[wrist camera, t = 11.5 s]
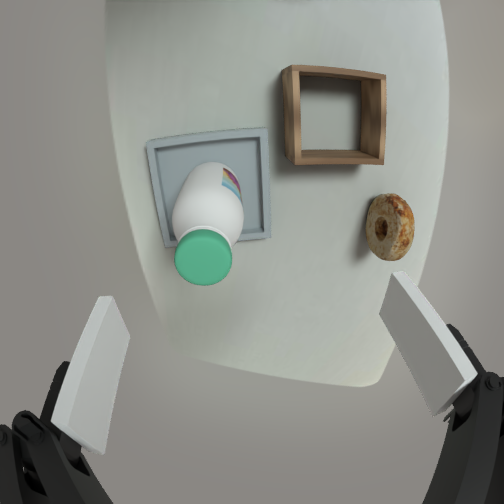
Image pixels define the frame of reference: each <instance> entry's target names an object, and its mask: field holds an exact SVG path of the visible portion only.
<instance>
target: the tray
mask: <svg viewBox="0 0 504 504" xmlns="http://www.w3.org/2000/svg"><path fill="white" fill-rule="evenodd" d="M146 147H147V154H148V161H149V167H150V173H151V179H152V185H153V190H154V196H155V201H156V206H157V211H158V216H159V221H160V226H161V231H162V235H163V240H164V244H165V248H168V247H177V244H178V240H177V239H176V237H175V234H174V231H173V226H172V214H173V209H174V206H175V203H176V200H177V198H178V195H179V193H180V191H181V188H182V186H183V184H184V182H185V180H186V178H187V176H188V175H189V173H190V172H191V171H192V170H193V169H194V168H195V167H196V166H198V165H200V164H202V163H206V162H219V163H222V164H224V165H226V166H228V167H229V168H230V169H232V170H233V172H234V173H235V174H236V176H237V178H238V181H239V185H240V190H241V196H242V203H243V211H244V222H243V228H242V231H241V234H240V236H239V238H238V240H237V241H241V240H252V239H263V238H271V208H270V178H269V152H268V129H267V128H265V127H259V128H243V129H230V130H219V131H209V132H200V133H192V134H185V135H178V136H171V137H164V138H158V139H153V140H149V141H147V142H146Z"/></svg>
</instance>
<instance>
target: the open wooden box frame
mask: <svg viewBox="0 0 504 504" xmlns="http://www.w3.org/2000/svg"><path fill="white" fill-rule="evenodd" d="M299 76H316V77H330V78H341V79H351V80H359V81H361V145H360V150H301V114H300V86H299ZM282 82H283V104H284V131H285V156H286V157H287V158H288V159H289V160H290V161H291V162H292V163H293V164H294V165H312V164H373V165H384V154H385V137H386V75H384V74H378V73H373V72H366V71H360V70H352V69H344V68H335V67H324V66H309V65H290V66H288V67H287V68H285V69H283V70H282Z"/></svg>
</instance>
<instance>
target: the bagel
mask: <svg viewBox="0 0 504 504" xmlns="http://www.w3.org/2000/svg"><path fill="white" fill-rule="evenodd" d="M413 237H414V217H413V213H412V211H411V208H410V207H409V205H408V204H407V203H406V201H405V200H403V199H402V198H401V197H399V196H398V195H396V194H381V195H379V196H378V197H376V198H375V199H374V200H373V202H372V204H371V205H370V208H369V211H368V215H367V222H366V238H367V242H368V245H369V248H370V249H371V251H372V252H373V253H374V254H375V255H376V256H377V257H379V258H380V259H382V260H386V261H395V260H399V259H401V258H402V257H403V256H404V255H405V254H406V253H407V252H408V250H409V249H410V247H411V245H412V242H413Z"/></svg>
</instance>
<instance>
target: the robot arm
mask: <svg viewBox="0 0 504 504" xmlns="http://www.w3.org/2000/svg"><path fill="white" fill-rule="evenodd" d="M379 315H380V317H381V318H382V320H383V322H384V324H385V325H386V327H387V329H388V331H389V332H390V334H391V336H392V338H393V340H394V341H395V343H396V345H397V347H398V349H399V351H400V352H401V354H402V356H403V358H404V360H405V362H406V364H407V366H408V367H409V369H410V371H411V373H412V375H413V377H414V379H415V381H416V383H417V385H418V387H419V389H420V391H421V393H422V395H423V398H424V400H425V402H426V404H427V406H428V408H429V410H430V412H431V415H432V416H435V415H437V414H440V413H441V412H444V411H446V410H447V408H448V407H449V406H450V405H451V404H453V406H454V409H453V410H452V411H451V412H450V413H449V414H448V415H447V416H446V417H445V418H444V420H443V421H444V422H445V421H446V420H447V419H448V418H449V417H450V420H449V421H448V423H449V425H448V429H447V433H446V438H445V441H444V445H443V448H442V451H441V455H440V458H439V461H438V464H437V467H436V470H435V473H434V476H433V479H432V481H431V484H430V486H429V489H428V492H427V494H426V497H425V499H424V501H423V503H422V504H504V377H499V376H498V375H497V374H495V373H493V372H486V371H485V370H484V368H483V367H482V365H481V363H480V362H479V360H478V359H477V357H476V356H475V354H474V353H473V351H472V350H471V348H470V347H468V344H467V342H466V341H464V338H463V336H462V335H461V334H460V332H459V331H458V330H457V329H456V328H455V327H453V326H452V325H451V324H447V325H445V323H444V322H443V321H442V319H441V318H440V317H439V315H438V314H437V312H436V311H435V310H434V308H433V307H432V306H431V304H430V303H429V302H428V300H427V299H426V298H425V296H424V295H423V294H422V293H421V291H420V290H419V289H418V287H417V286H416V285H415V284H414V282H413V281H412V280H411V279H410V277H409V276H408V275H407V274H406V273H405V271H400V272H393V273H392V274H391V278H390V281H389V285H388V288H387V291H386V295H385V298H384V301H383V304H382V307H381V310H380V313H379ZM130 337H131V336H130V334H129V332H128V330H127V328H126V326H125V324H124V321H123V319H122V316H121V314H120V312H119V309H118V307H117V305H116V302H115V300H114V298H113V296H99V298H98V300H97V302H96V304H95V306H94V308H93V310H92V313H91V315H90V317H89V319H88V321H87V324H86V326H85V328H84V330H83V333H82V335H81V337H80V340H79V342H78V345H77V347H76V350H75V352H74V354H73V357H72V360H71V362H67V361H64V362H63V363H62V364H61V365H60V367H59V368H58V369H57V370H56V374H55V376H54V379H53V382H52V384H51V386H50V390H49V392H48V395H47V398H46V401H45V404H44V407H43V410H42V413H41V416H40V419H38V418H37V417H36V416H35V415H34V414H33V413H31V412H30V411H26V410H24V411H21V412H19V413H18V414H17V415H16V416H15V417H14V419H13V422H12V430H11V429H10V428H9V427H7V426H6V425H2V424H1V425H0V504H113V502H112V501H111V500H110V498H109V497H108V495H107V494H106V492H105V491H104V489H103V488H102V486H101V484H100V483H99V481H98V480H97V478H96V477H95V475H94V473H93V471H92V470H91V468H90V466H89V464H88V463H87V461H86V459H85V457H84V455H83V454H82V453H81V447H83V448H85V449H86V450H87V451H89V452H93V453H98V454H103V455H105V449H106V443H107V436H108V431H109V425H110V420H111V415H112V410H113V406H114V401H115V396H116V392H117V387H118V383H119V379H120V375H121V371H122V367H123V363H124V359H125V355H126V351H127V348H128V344H129V341H130ZM23 467H24V471H23Z"/></svg>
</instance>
